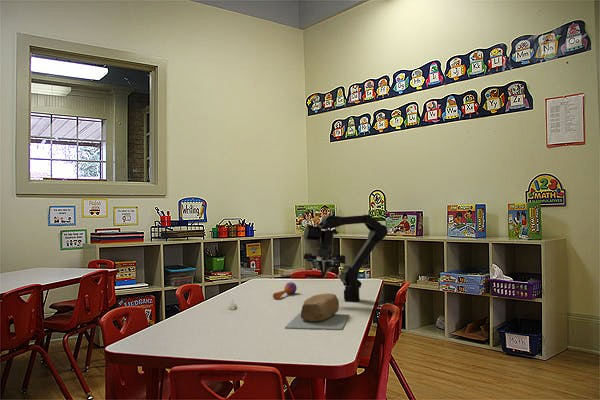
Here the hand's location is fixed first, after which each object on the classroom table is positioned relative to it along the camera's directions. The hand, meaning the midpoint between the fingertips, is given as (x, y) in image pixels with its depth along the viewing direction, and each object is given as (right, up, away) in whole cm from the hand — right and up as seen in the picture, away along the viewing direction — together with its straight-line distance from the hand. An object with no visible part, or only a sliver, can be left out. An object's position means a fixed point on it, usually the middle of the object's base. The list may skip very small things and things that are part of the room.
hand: (323, 277), depth 216 cm
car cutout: (-40, -13, -9) cm, 43 cm away
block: (+1, -7, -19) cm, 21 cm away
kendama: (-18, -13, +25) cm, 33 cm away
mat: (-3, -11, -35) cm, 37 cm away
